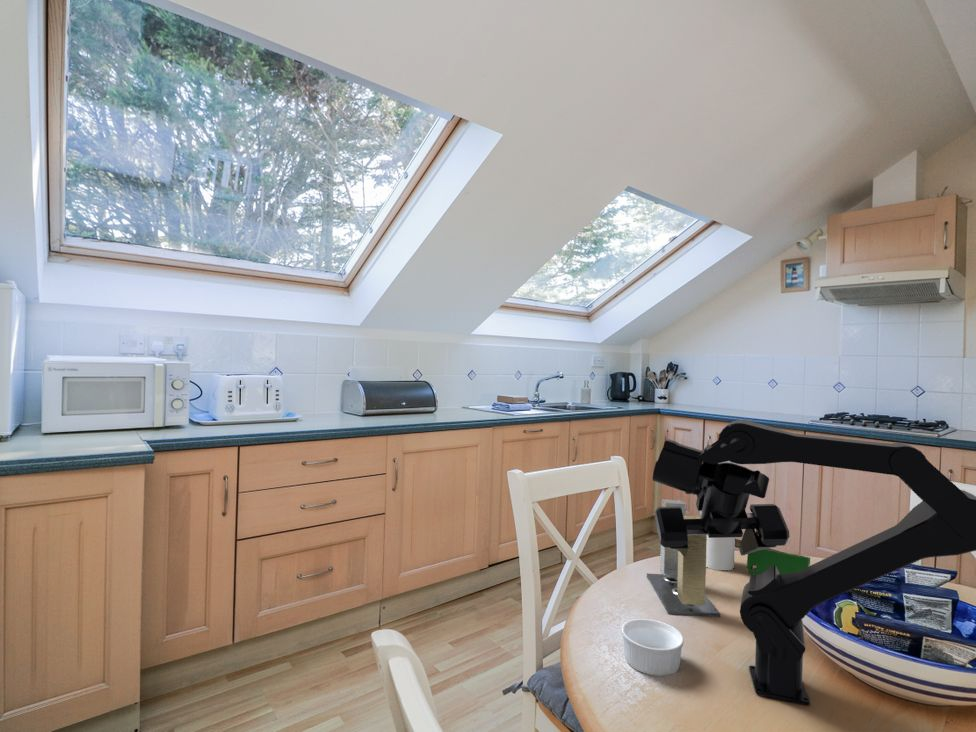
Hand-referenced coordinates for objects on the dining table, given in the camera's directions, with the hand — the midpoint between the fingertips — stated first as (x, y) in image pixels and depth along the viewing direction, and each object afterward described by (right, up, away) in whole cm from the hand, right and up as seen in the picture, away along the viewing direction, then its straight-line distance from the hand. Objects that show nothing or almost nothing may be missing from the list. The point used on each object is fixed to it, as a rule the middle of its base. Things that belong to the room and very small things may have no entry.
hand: (712, 553), depth 87 cm
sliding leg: (-1, -13, +7) cm, 15 cm away
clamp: (+24, -14, +24) cm, 37 cm away
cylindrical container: (+14, -13, +30) cm, 35 cm away
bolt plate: (0, -13, +14) cm, 19 cm away
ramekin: (-13, -13, -9) cm, 21 cm away
